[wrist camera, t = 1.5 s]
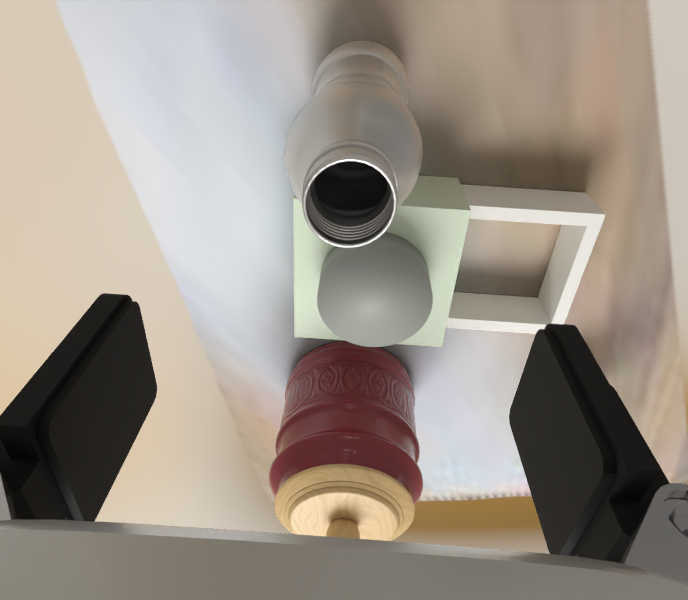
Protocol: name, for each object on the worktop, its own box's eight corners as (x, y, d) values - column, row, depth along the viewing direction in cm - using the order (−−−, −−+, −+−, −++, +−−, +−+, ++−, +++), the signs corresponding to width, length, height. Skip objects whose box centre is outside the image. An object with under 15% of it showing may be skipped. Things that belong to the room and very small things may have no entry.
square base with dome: (303, 167, 38) (286, 217, 31) (587, 186, 38) (640, 241, 31) (302, 295, 45) (289, 361, 38) (543, 312, 45) (577, 381, 38)
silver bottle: (425, 67, 34) (476, 170, 17) (374, 152, 37) (376, 304, 21) (343, 14, 32) (314, 72, 16) (298, 108, 36) (235, 235, 19)
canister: (398, 435, 55) (408, 604, 41) (283, 419, 55) (251, 585, 40) (426, 347, 48) (450, 516, 33) (294, 328, 47) (259, 491, 33)
